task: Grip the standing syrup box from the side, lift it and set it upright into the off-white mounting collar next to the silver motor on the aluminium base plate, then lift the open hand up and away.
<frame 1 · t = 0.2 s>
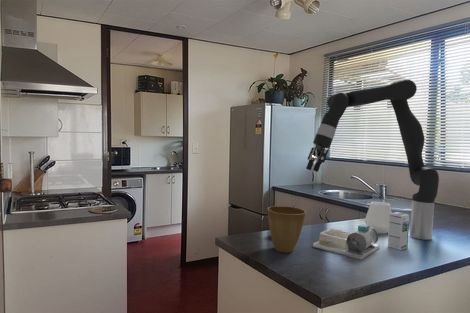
hand: (311, 170, 153), 30 cm above the worktop, tool tilted 20°, fingers open, 8 cm apart
plant pot: (284, 250, 137), on the worktop
motor: (346, 247, 143), on the worktop
syrup box: (397, 248, 146), on the worktop
cup: (378, 231, 173), on the worktop
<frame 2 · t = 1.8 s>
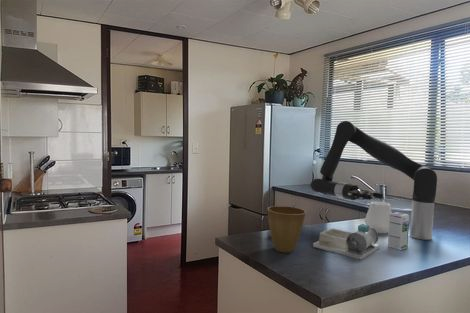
hand: (376, 196, 154), 20 cm above the worktop, tool horizontal, fingers open, 8 cm apart
nothing on the worktop moved.
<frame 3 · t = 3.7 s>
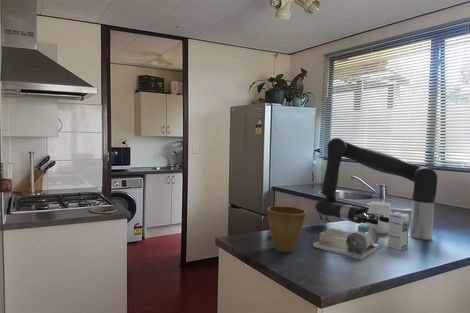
hand: (383, 221, 152), 10 cm above the worktop, tool horizontal, fingers open, 8 cm apart
nothing on the worktop moved.
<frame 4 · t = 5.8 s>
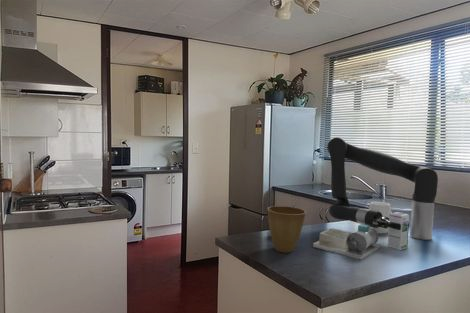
hand: (404, 226, 144), 10 cm above the worktop, tool horizontal, fingers closed on syrup box, 5 cm apart
syrup box: (397, 247, 146), on the worktop, touching gripper
everything else where it was.
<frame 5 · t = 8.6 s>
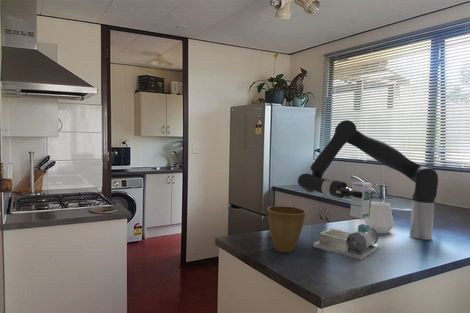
hand: (366, 195, 143), 22 cm above the worktop, tool horizontal, fingers closed on syrup box, 5 cm apart
syrup box: (359, 217, 146), point 12 cm above the worktop, touching gripper
everything else where it was.
when the fingers open (12 cm above the worktop, at t = 11.6 s): syrup box drops 1 cm, resting on motor.
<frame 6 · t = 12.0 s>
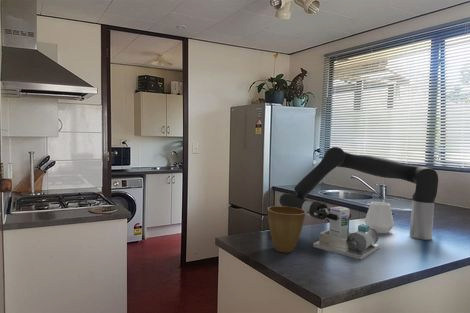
hand: (343, 217, 143), 12 cm above the worktop, tool horizontal, fingers open, 8 cm apart
syrup box: (338, 242, 146), point 1 cm above the worktop, touching motor
everything else where it was.
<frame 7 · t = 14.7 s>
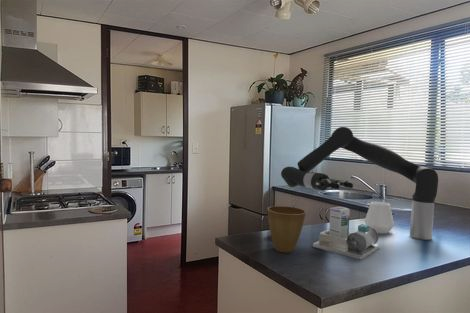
hand: (345, 185, 143), 25 cm above the worktop, tool horizontal, fingers open, 8 cm apart
nothing on the worktop moved.
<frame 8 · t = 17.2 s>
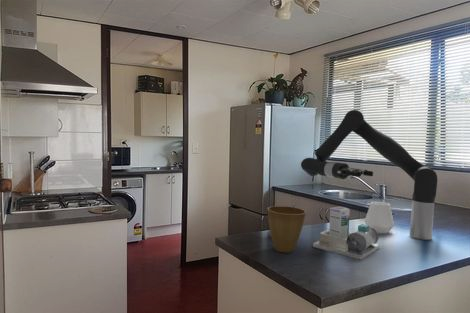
hand: (366, 174, 150), 30 cm above the worktop, tool horizontal, fingers open, 8 cm apart
nothing on the worktop moved.
at the end: syrup box 0.2 cm from the target spot on the motor, point 1.3 cm above the motor's base; syrup box tilted 0°; the gripper is holding nothing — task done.
